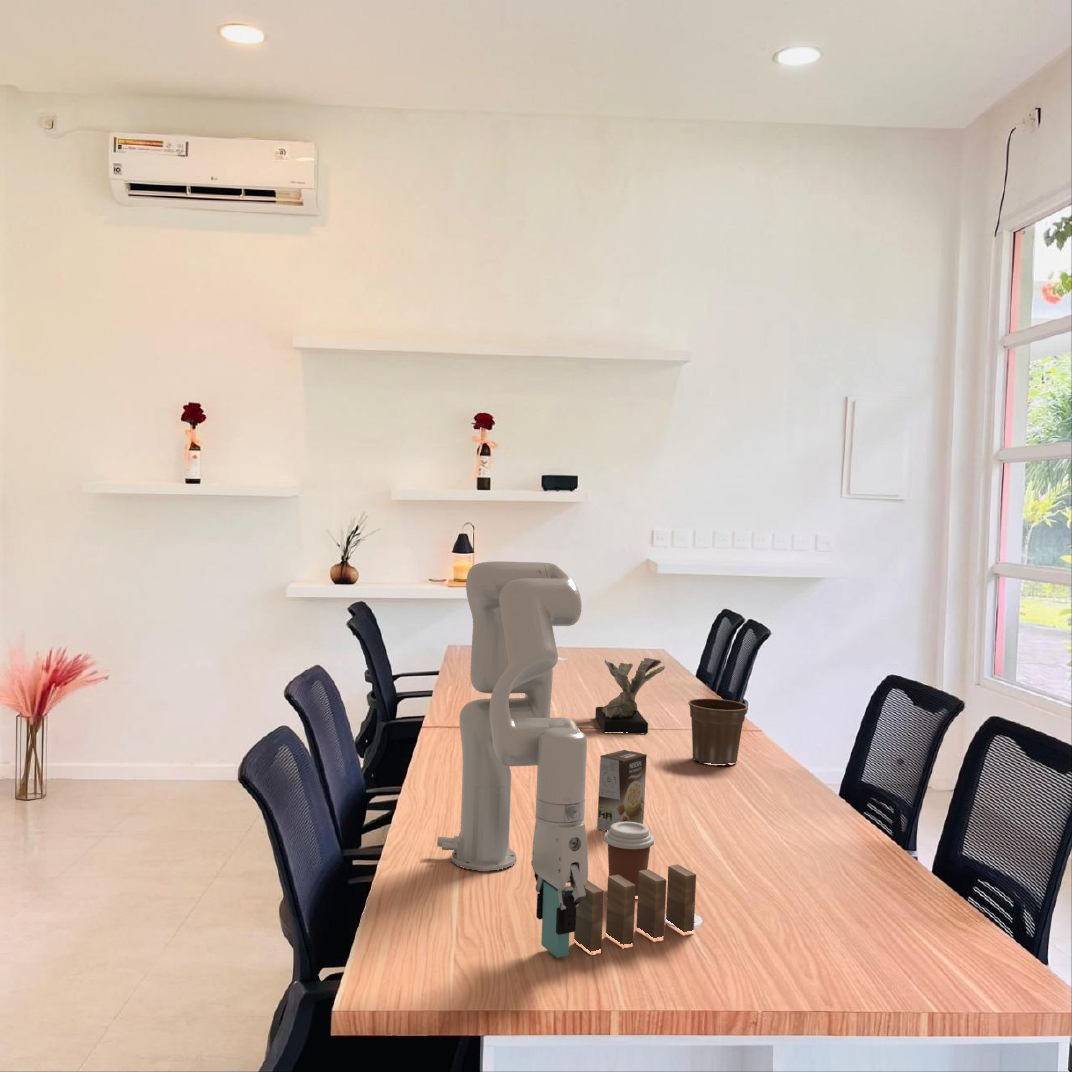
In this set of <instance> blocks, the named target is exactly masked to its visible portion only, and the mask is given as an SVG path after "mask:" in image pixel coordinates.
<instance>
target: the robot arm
mask: <svg viewBox="0 0 1072 1072" xmlns="http://www.w3.org/2000/svg"><path fill="white" fill-rule="evenodd" d="M465 591H466V597H467V602H468V606H469V609H470V612H471V616H472V617H471V618H472V637H471V653H470V655H471V656H470V671H469V672H470V674H469V675H470V681H471V682H470V683H471V685H472V688H473V689H474V690H475V691H477V692H479V693H482V694H491V697H490V698H480V699H474V700H471V701H469V702H467V703H466V704H465V705H464V706H463V707H462V708H461V711H460V713H459V720H458V721H459V731H460V740H461V741H460V742H461V751H462V753H461V754H462V769H461V770H462V776H461V778H462V779H461V805H460V806H461V808H460V831H459V834H458V835H453V837H448V836H437V843H436V846H437V847H438V848H439V847H440V848H441V850H442V851H452V852H451V862H452V861H453V862H454V863H455V864H456V866H457V867H459V866H462V867H464V868H467V869H466V870H468V869H472V870H471V871H474V870H478V871H477V872H481V871H480V870H484V871H483V872H490V871H489V870H497V871H499V870H498V869H502V868H506V867H508V866H511V867H513V866H514V865H515V864H516V862H517V854H516V852H515V851H514V850H512V849H511V848H509V845H510V821H511V819H510V818H511V796H512V795H511V793H512V770H511V767H533V766H537V769H536V770H537V773H536V774H537V775H536V793H535V794H536V798H535V823H534V831H533V841H532V853H531V854H532V856H531V858H532V859H531V861H530V863H531V866H532V870H533V872H534V878H535V882H536V885H535V890H536V913H535V915H536V919H538V920H542V914H543V888H544V882H546V881H547V882H548V883H550V884H551V885H553V886H554V887H556V888H557V890H558V899H559V907H560V908H557V913H556V933H557V934H558V935H561V934H566V933H569V934H571V933H574V931H575V929H576V908H577V907H578V905H579V902H580V901H581V900H582V899H583V898H584V897H585V896H586V892H585V889H584V887H586V885H587V882H588V881H589V857H588V855H589V853H588V852H589V851H588V849H589V848H588V837H587V829H586V824H585V822H584V821H585V803H586V779H587V778H586V777H587V774H586V773H587V754H588V753H587V751H588V744H587V743H588V740H587V739H588V738H587V737H586V735H585V733H584V732H582V731H581V730H580V728H579V727H578V726H577V725H578V724H576V722H575V721H574V720H573V719H570V718H568V717H551V707H552V705H551V704H552V692H553V691H552V690H553V676H554V675H553V674H554V671H553V668H554V667H555V666H556V665H557V663H558V660H559V655H558V649H557V642H556V639H555V634H554V628H553V627H570V626H574V625H575V624H577V622H578V621H579V619H580V617H581V613H582V599H581V594H580V591H579V589H578V586H577V585H576V583H575V582H574V580H573V579H572V577H570V575H568V574H567V572H565V571H564V570H563V569H562V568H561V567H559V566H558V565H556V564H554V563H550V562H541V561H540V562H539V561H538V562H537V561H536V562H533V561H531V562H530V561H528V562H527V561H509V560H508V561H507V560H506V561H500V560H499V561H498V560H497V561H493V560H492V561H484V562H478V563H476V564H474V565H472V566H471V567H470V568H469V570H468V572H467V576H466V581H465ZM511 694H524V697H510V695H511ZM453 862H452V863H453ZM454 863H453V864H454ZM514 863H515V864H514ZM455 864H454V865H455ZM513 864H514V865H513ZM464 868H463V869H464ZM506 869H507V868H506ZM502 870H503V869H502ZM567 883H570V884H569V886H567ZM566 891H570V893H571V895H569V896H568V897H567V898H566V899H565V893H564V892H566Z"/></svg>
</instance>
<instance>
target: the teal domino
mask: <svg viewBox="0 0 1072 1072" xmlns="http://www.w3.org/2000/svg"><path fill="white" fill-rule="evenodd" d="M564 893H565V899H566V898H567V897H568V896H569V895H571V893H570V891H566V892H564ZM557 908H560V907H559V899H558V890H557V888H556V887H554V886H553V885H551V884H550V883H548V882H547V881H546V882H544V888H543V914H542V919H541V943H540V944H541V946H542V947H544V948H545V950H547V952H550V953H551V954H552V955H553V956H555V958H562V957H568V956H569V951H570V950H569V949H570V933H566V934H561V935H558V934H557V933H556V913H557Z"/></svg>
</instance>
